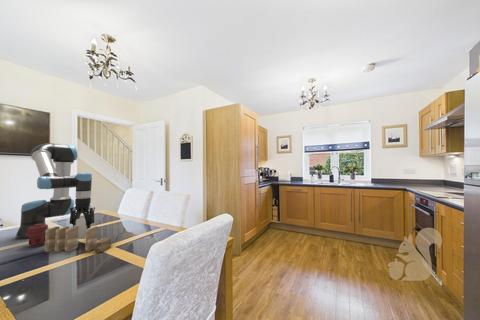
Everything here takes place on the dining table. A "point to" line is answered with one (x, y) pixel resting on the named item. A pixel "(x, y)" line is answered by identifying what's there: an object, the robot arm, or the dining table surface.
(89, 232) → the domino
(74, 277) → the dining table surface
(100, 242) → the stop block
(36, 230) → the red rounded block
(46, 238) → the domino
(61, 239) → the domino
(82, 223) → the domino
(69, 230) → the domino
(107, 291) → the dining table surface
